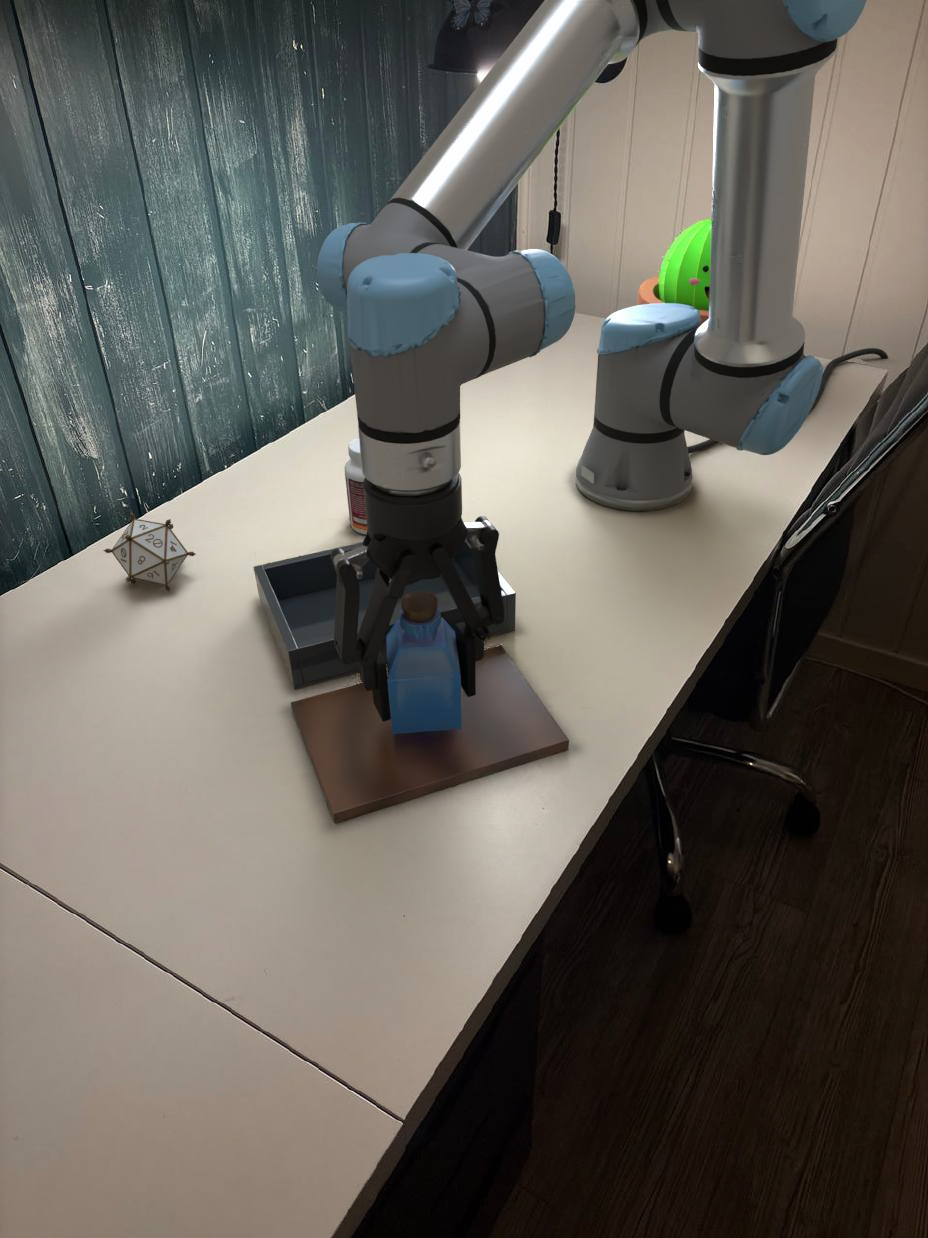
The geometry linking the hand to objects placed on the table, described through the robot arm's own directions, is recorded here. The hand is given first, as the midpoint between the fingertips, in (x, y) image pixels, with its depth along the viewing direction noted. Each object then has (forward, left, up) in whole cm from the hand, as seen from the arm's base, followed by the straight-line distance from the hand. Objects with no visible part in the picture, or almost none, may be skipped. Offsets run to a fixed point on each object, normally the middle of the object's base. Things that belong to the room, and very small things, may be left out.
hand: (424, 698), depth 83 cm
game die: (+20, -36, -4) cm, 41 cm away
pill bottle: (-7, -38, -4) cm, 38 cm away
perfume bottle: (0, 0, -1) cm, 1 cm away
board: (0, 0, -4) cm, 4 cm away
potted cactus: (-71, -62, -4) cm, 94 cm away
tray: (-2, -19, -4) cm, 19 cm away
